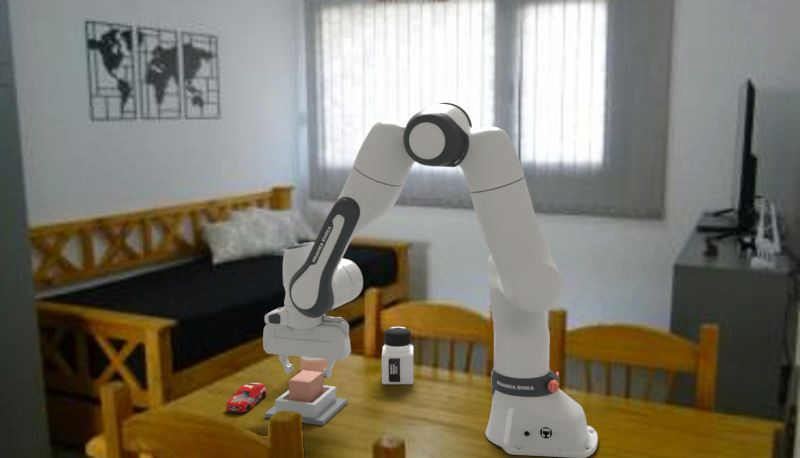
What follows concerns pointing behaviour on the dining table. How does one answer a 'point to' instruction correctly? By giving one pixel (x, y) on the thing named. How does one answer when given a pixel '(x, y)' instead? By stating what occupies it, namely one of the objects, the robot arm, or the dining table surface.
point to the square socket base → (311, 406)
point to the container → (397, 357)
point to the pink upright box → (306, 386)
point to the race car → (246, 397)
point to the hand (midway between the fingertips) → (308, 374)
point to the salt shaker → (312, 364)
